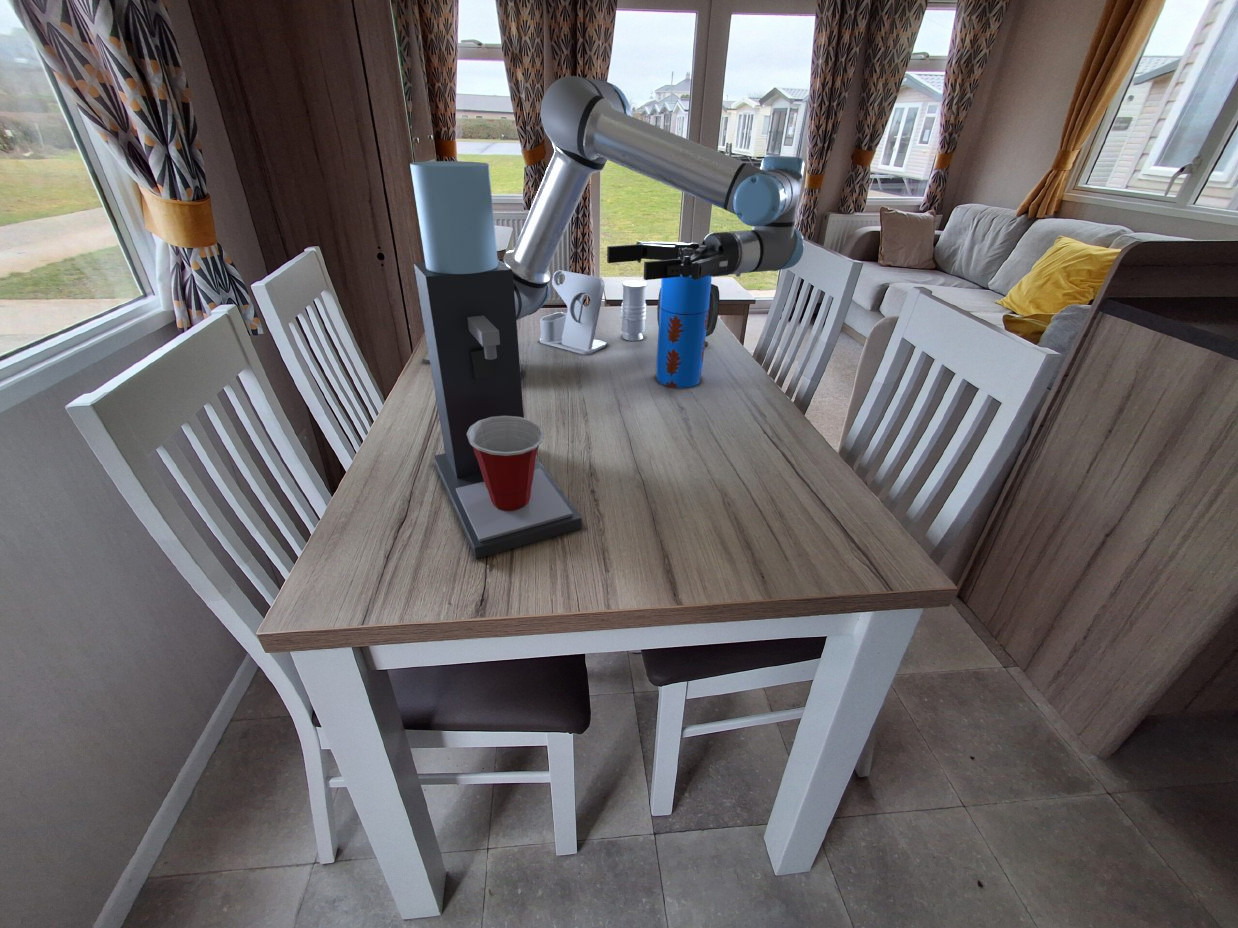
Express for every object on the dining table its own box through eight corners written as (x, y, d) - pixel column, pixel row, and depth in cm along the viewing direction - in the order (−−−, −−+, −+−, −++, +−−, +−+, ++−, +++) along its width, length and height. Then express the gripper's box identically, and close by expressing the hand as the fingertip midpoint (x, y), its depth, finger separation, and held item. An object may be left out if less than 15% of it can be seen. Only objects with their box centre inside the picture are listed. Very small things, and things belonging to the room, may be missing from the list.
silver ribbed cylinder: (632, 331, 163) (634, 279, 155) (649, 337, 159) (652, 283, 151) (615, 336, 159) (616, 283, 151) (633, 342, 155) (634, 288, 147)
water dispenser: (434, 464, 98) (380, 161, 74) (521, 445, 105) (498, 161, 80) (476, 559, 77) (419, 179, 53) (581, 528, 84) (575, 177, 59)
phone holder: (536, 341, 154) (532, 274, 145) (560, 332, 161) (557, 268, 152) (586, 355, 146) (585, 285, 136) (608, 345, 153) (609, 277, 144)
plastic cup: (534, 526, 80) (529, 454, 73) (463, 516, 81) (452, 444, 75) (556, 485, 89) (553, 418, 83) (492, 477, 90) (485, 410, 84)
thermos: (649, 383, 131) (655, 273, 118) (663, 367, 140) (670, 263, 126) (694, 391, 128) (705, 279, 115) (706, 374, 136) (717, 268, 123)
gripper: (769, 290, 95) (661, 303, 87) (689, 261, 114) (594, 270, 105) (776, 244, 91) (664, 253, 83) (692, 222, 110) (594, 227, 102)
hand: (625, 262), depth 94 cm, fingers open, 13 cm apart
